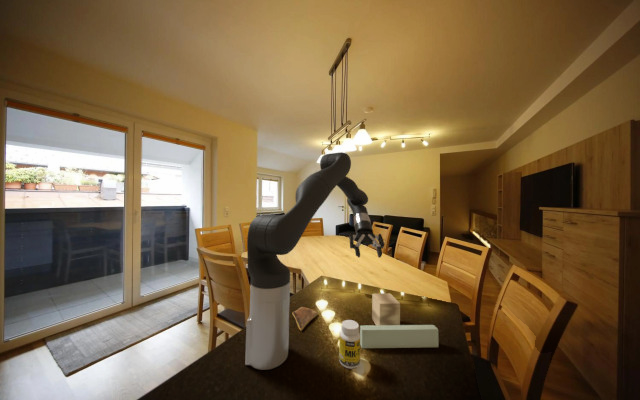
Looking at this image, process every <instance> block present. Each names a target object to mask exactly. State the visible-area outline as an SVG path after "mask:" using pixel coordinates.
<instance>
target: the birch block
mask: <svg viewBox="0 0 640 400" xmlns="http://www.w3.org/2000/svg"><path fill="white" fill-rule="evenodd" d="M371 296H372V298H371V301H372V302H371V305H372V307H371V319H372V321H373V322H374V324H375V325H401V303H400V302H399V300H397V299H396V298H395V297H394V295H392V293H382V292H381V293H375V292H374V293H372V295H371Z"/></svg>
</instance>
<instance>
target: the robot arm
mask: <svg viewBox="0 0 640 400" xmlns="http://www.w3.org/2000/svg"><path fill="white" fill-rule="evenodd" d="M319 166H320V170H318V171H316V172H314V173H312V174H310V175H308V176H307V177H306V178H305V179H304V180H303V181H302V182H301V183H300V184H299V185H298V187H297V188H296V191H295V204H294V205H293V207H292V208H291V209H289V210H288V211H287V212H286V213H284V214H282V215H279V214H277V215H276V214H260V215H257V216H255V217H254V218H253V220H252V221H251V222H250V224H249V227H248V231H247V239H246V241H247V242H246V245H247V246H246V248H247V249H246V251H247V256H246V257H247V270H248V273H249V276H250V293H249V294H250V296H249V297H250V298H249V299H250V300H249V315H248V318H247V320H246V325H245V326H246V330H245V331H246V332H245V333H246V335H245V354H244V355H245V356H244V357H245V358H244V359H245V361H244V363H245V364H244V365H245V366H251V367H252V368H253V369H256V370H260V371H263V370H264V371H266V370H272V369H275V368H277V367H279V366H281V365H282V364H283V363H284V362H285V361H286V360H287V358H288V356H289V339H290V337H289V334H290V330H289V329H290V303H291V302H290V300H291V299H290V295H291V293H290V292H291V270H290V269H289V267H288V266H286V264H284V263H283V262H282V261H281V260H280V259H279V258H278V256H284V255H287V254H289V253H291V251H293V250H294V249H295V247H296V246H297V244H298V243H299V241H300V240H301V238H302V236H303V235H304V234H305V230H306V229H307V227H308V226H309V224H310V222H311V220H312V219H313V217H314V216H315V214H316V213H317V212H318V210H319V209H320V208H321V206H322V205H323V204H324V202H325V201H326V200H327V198H329V196H330V194H331V193H332V192H333V190H334V189H336V187H338V188H339V189H340V190H341V191H342V192H343V194H344V195H345V196H346V198H347V200H346V202H347V205H348V206H349V208H350V210H351V212H352V217H353V226H354V230H355V234H353V233H350V234H349V247H350V249H354V253H355V256H356V257H357V258H360V257H361V250H360V247H361V245H363V246H365V245H367V246H371V247H373V248H375V249H376V253H377V258H381V257H382V256H383V251H382V249H384V247H385V241H384V238H383V235H382V234H381V233H378V234H375V233H374V230H373V226H372V223H371V218H370V216H369V212H368V208H367V207H366V206H365V205H367V204H368V203H369V196H368V195H367V194H366V192H365V191H363V190H362V189H361V188H359V186H358V184H356V181H354V180H353V179H351V178H350V177H348V174H349V172H350V170H351V167H352V161H351V157H350V155H349V154H348V153H346V152H343V151H342V152H340V151H339V152H334V153H333V152H331V153H326V154H323V155H322V157H320V161H319ZM355 239H356V240H357V242H356V243H355V242H354V241H355Z"/></svg>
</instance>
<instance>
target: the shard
mask: <svg viewBox="0 0 640 400" xmlns="http://www.w3.org/2000/svg"><path fill="white" fill-rule="evenodd" d="M291 314H292V316H293V318H294V319H295V322H296V325H297V328H298V329H299V330H300V331H301V332H302V331H303V330H304V329H305V328H306V326H307V325H308V324H309V323H310V322H311V321H312V320H313V319H315V318H316V317H317V316H318V315H319V312H317V311H316V310H314V309H312V308H309V307H305V306H301V307H299V308H298V309H296V310H295V311H292V313H291Z"/></svg>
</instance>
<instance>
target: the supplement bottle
mask: <svg viewBox="0 0 640 400" xmlns="http://www.w3.org/2000/svg"><path fill="white" fill-rule="evenodd" d="M338 343H339V346H338V347H339V351H338V360H339V363H340V364H341V366H342V367H344V368H346V369H352V370H353V369H355V368H357V367H359V366H360V364H361V344H360V325H359V323H358V322H357V321H355V320H352V319H346V320H343V321H341V330H340V331H339V342H338Z"/></svg>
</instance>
